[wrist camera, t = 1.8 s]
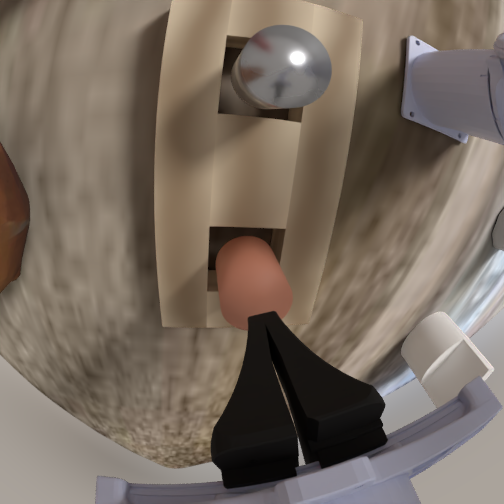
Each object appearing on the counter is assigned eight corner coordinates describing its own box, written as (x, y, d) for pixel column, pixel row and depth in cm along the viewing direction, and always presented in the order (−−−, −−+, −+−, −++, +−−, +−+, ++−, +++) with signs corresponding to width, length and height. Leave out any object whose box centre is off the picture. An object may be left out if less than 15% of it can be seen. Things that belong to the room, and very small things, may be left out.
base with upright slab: (420, 360, 37) (456, 413, 26) (389, 356, 34) (430, 421, 23) (455, 317, 34) (500, 368, 23) (430, 306, 31) (484, 368, 20)
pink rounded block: (278, 236, 19) (299, 272, 15) (270, 287, 20) (286, 328, 16) (217, 235, 18) (222, 272, 14) (214, 287, 20) (219, 331, 16)
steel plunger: (302, 53, 13) (335, 36, 9) (295, 113, 15) (326, 115, 11) (235, 42, 12) (246, 18, 9) (227, 105, 14) (236, 101, 10)
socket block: (343, 28, 15) (362, 19, 12) (298, 302, 26) (308, 323, 23) (178, 3, 13) (175, -13, 10) (165, 303, 23) (162, 326, 21)
